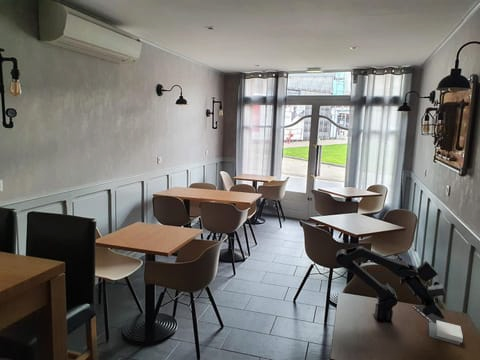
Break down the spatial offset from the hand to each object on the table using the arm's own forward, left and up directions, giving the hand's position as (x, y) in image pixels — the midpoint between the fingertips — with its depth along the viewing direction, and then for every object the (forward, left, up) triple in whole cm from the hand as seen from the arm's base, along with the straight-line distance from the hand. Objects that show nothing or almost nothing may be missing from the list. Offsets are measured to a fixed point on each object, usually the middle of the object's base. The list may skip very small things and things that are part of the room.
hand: (443, 318), depth 148 cm
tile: (-2, +1, -5) cm, 5 cm away
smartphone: (+2, +14, -7) cm, 16 cm away
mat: (+1, 0, -7) cm, 7 cm away
